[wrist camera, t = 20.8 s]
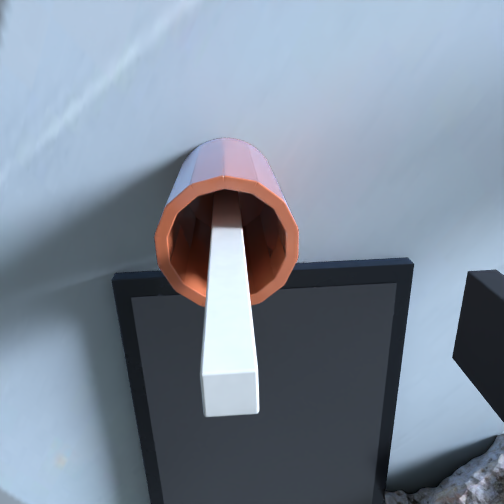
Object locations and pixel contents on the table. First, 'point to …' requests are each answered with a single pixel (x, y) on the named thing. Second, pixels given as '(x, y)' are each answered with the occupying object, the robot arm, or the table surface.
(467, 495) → the geological specimen
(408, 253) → the table surface
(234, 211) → the stylus
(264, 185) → the pen cup
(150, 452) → the tablet
